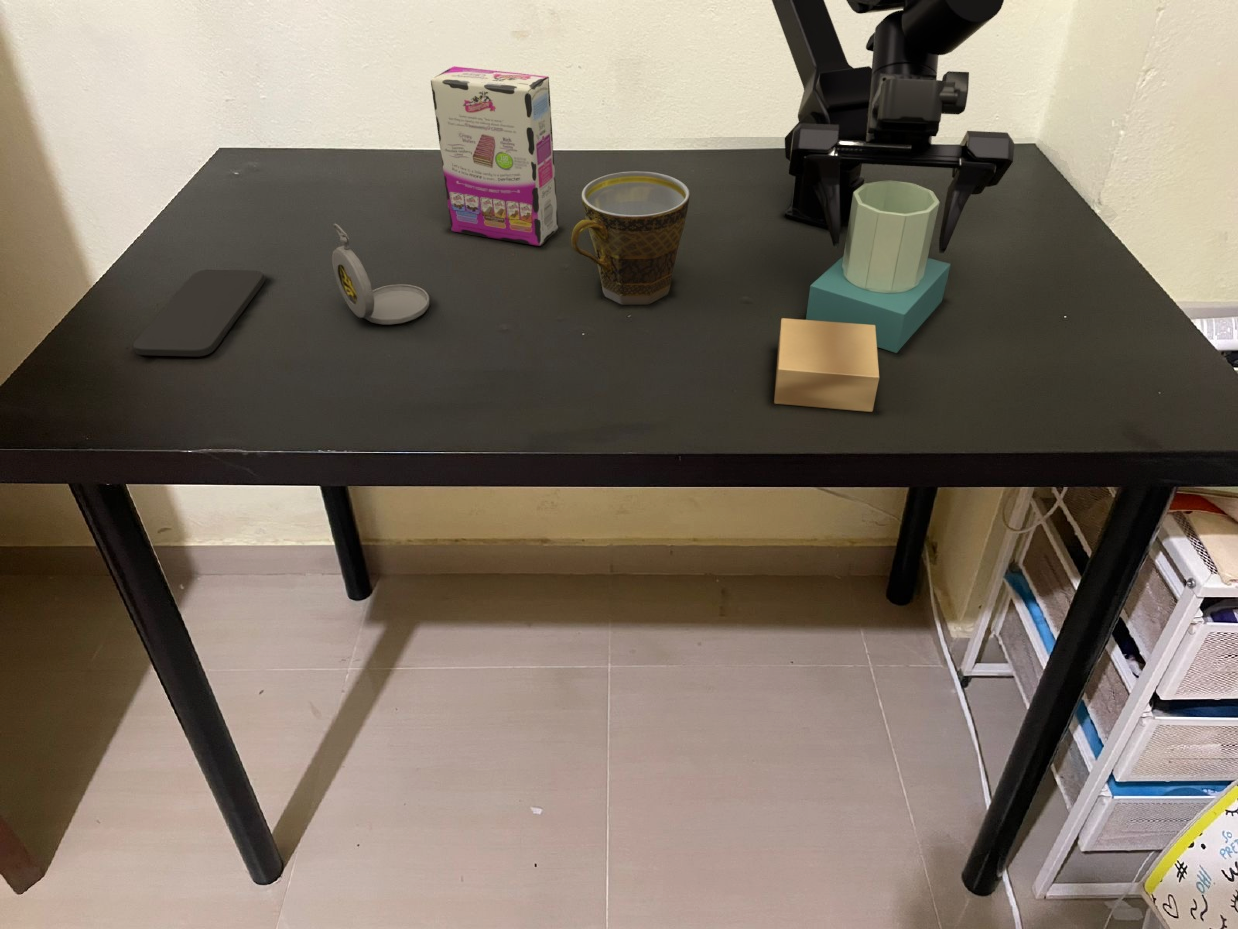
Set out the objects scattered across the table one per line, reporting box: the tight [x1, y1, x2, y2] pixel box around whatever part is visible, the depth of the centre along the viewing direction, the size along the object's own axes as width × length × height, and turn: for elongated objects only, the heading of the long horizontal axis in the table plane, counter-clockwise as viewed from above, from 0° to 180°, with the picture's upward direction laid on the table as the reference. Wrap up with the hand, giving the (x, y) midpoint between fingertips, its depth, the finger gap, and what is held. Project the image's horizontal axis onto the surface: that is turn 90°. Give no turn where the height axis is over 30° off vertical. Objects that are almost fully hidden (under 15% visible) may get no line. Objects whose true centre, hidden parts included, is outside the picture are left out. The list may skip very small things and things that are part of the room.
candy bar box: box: [430, 66, 559, 247], centre depth 98 cm, size 11×5×16 cm, turn 68°
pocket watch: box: [331, 222, 430, 326], centre depth 87 cm, size 8×8×10 cm
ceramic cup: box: [570, 171, 691, 306], centre depth 89 cm, size 13×10×10 cm
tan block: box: [773, 317, 880, 413], centre depth 80 cm, size 8×8×4 cm
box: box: [805, 255, 951, 354], centre depth 88 cm, size 9×11×4 cm
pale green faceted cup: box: [842, 179, 940, 293], centre depth 84 cm, size 7×7×8 cm
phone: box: [132, 269, 266, 357], centre depth 90 cm, size 7×1×15 cm
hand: (889, 248), depth 83 cm, fingers open, 9 cm apart
